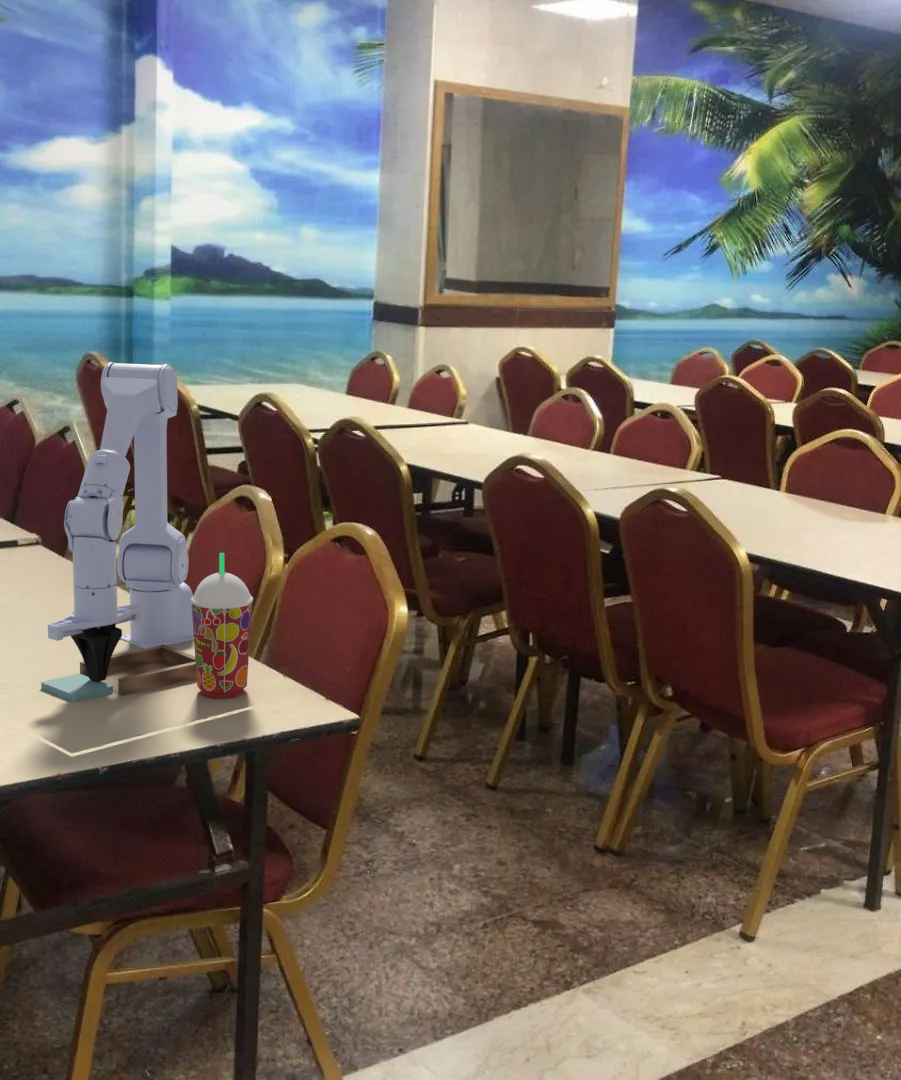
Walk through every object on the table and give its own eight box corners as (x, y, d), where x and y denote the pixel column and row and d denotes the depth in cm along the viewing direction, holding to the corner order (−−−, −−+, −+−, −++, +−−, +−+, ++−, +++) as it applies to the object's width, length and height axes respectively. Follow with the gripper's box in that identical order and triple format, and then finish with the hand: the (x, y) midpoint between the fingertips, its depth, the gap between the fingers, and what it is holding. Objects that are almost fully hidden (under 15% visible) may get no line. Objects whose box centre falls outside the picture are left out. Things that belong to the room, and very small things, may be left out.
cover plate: (78, 685, 187) (78, 673, 187) (113, 698, 182) (112, 685, 182) (41, 694, 183) (41, 682, 182) (75, 708, 178) (75, 695, 177)
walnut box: (164, 660, 198) (164, 644, 198) (207, 677, 191) (207, 661, 190) (80, 679, 188) (79, 662, 188) (122, 698, 181) (122, 680, 180)
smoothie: (185, 688, 186) (184, 548, 182) (244, 682, 189) (244, 545, 185) (199, 706, 178) (198, 561, 174) (259, 700, 182) (260, 558, 178)
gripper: (117, 570, 189) (119, 662, 192) (32, 588, 178) (35, 685, 181) (151, 578, 185) (152, 672, 188) (66, 597, 174) (68, 696, 177)
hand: (97, 679), depth 184 cm, fingers closed
